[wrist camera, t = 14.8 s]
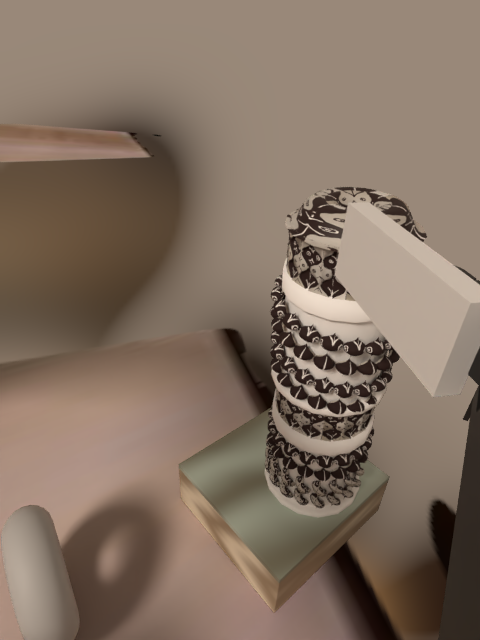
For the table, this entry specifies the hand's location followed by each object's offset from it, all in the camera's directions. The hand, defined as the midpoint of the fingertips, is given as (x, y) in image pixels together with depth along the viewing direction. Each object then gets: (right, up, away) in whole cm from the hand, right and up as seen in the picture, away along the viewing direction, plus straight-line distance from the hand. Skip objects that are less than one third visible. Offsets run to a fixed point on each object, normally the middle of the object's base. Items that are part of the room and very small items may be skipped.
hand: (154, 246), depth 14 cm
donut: (-12, -25, +19) cm, 34 cm away
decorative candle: (+9, -16, +25) cm, 31 cm away
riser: (+7, -20, +28) cm, 35 cm away
